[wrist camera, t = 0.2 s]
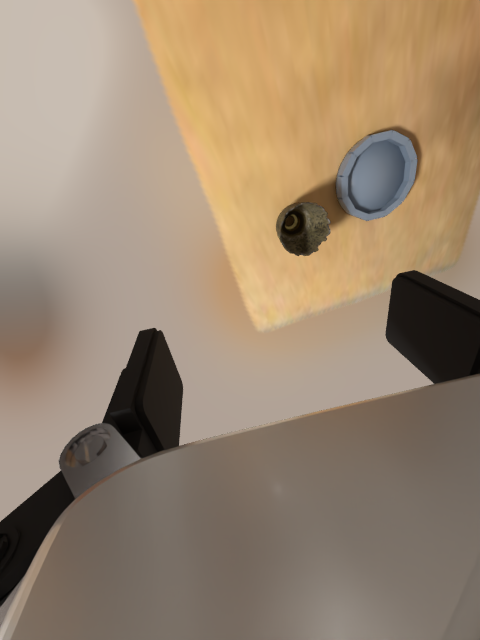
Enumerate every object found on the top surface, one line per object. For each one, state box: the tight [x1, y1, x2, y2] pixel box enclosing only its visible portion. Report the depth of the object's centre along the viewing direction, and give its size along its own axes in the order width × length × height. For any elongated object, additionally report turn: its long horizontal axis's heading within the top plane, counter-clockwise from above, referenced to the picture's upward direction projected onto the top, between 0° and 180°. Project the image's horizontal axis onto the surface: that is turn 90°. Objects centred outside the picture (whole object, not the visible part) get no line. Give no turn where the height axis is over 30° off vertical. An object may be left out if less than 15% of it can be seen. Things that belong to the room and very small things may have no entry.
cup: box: [276, 202, 331, 256], centre depth 41 cm, size 8×7×8 cm
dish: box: [336, 130, 417, 221], centre depth 42 cm, size 12×12×2 cm
